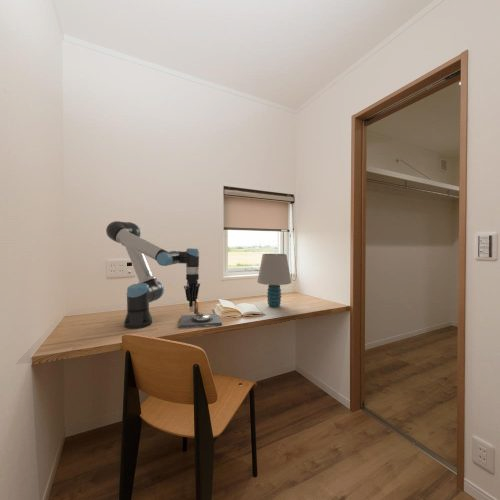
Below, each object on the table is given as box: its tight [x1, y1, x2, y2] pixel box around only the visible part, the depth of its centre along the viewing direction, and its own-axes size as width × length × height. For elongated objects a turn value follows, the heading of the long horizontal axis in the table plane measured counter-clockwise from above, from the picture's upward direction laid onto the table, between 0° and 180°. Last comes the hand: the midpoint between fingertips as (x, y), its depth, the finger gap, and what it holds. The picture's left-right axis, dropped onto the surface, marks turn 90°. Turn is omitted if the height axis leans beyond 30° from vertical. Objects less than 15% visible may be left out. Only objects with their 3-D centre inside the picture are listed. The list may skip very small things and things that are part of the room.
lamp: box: [257, 253, 292, 308], centre depth 188 cm, size 25×25×39 cm
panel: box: [178, 312, 223, 329], centre depth 153 cm, size 24×19×2 cm
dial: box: [193, 299, 211, 321], centre depth 154 cm, size 14×10×10 cm
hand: (191, 311), depth 155 cm, fingers closed
